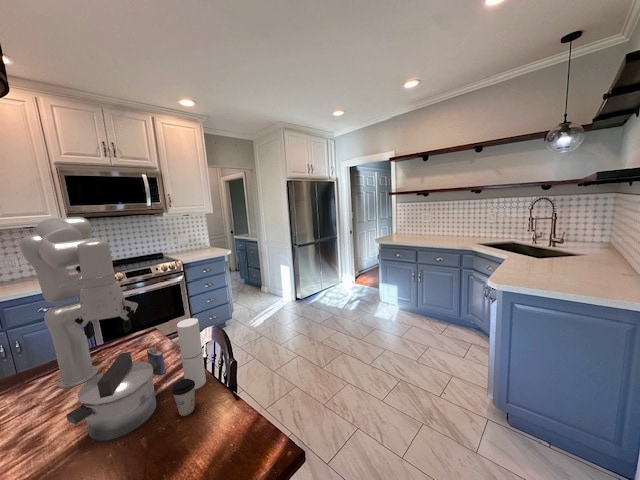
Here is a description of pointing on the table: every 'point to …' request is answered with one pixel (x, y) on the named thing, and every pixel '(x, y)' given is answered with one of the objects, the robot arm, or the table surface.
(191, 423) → the table surface
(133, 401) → the cooker pot
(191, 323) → the cylindrical container
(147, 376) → the lid
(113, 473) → the table surface
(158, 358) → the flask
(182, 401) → the coffee cup
